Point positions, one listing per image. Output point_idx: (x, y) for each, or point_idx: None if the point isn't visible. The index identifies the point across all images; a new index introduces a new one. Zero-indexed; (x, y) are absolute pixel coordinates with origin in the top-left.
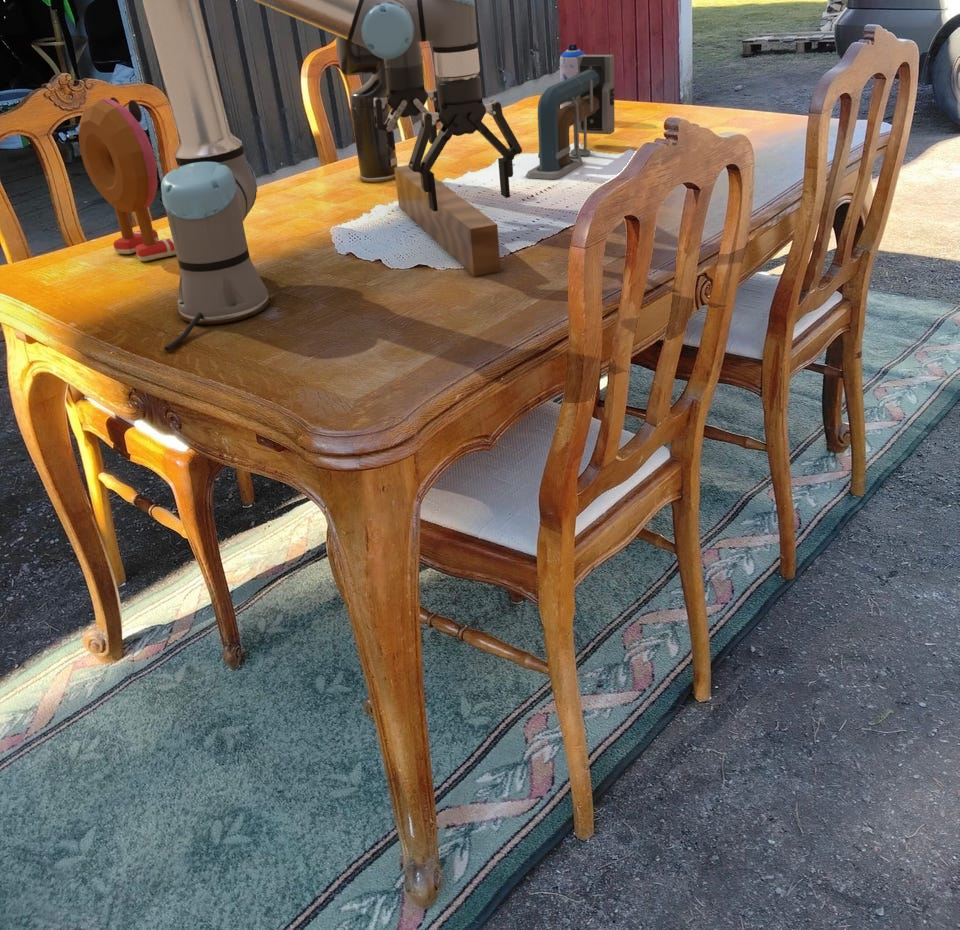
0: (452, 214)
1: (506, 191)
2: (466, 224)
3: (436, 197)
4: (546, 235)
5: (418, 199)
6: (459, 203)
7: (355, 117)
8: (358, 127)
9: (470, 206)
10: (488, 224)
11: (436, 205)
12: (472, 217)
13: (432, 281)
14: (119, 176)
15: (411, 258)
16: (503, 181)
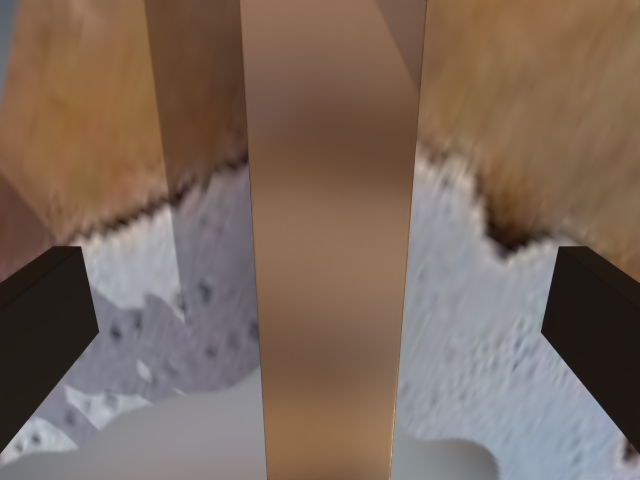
0: (402, 318)
1: (51, 264)
2: (410, 98)
3: (610, 288)
4: None
5: None
6: (306, 451)
7: None
8: None
9: (274, 388)
10: (292, 11)
11: (585, 260)
12: (329, 209)
13: (546, 54)
14: None
15: (498, 325)
16: (24, 329)
